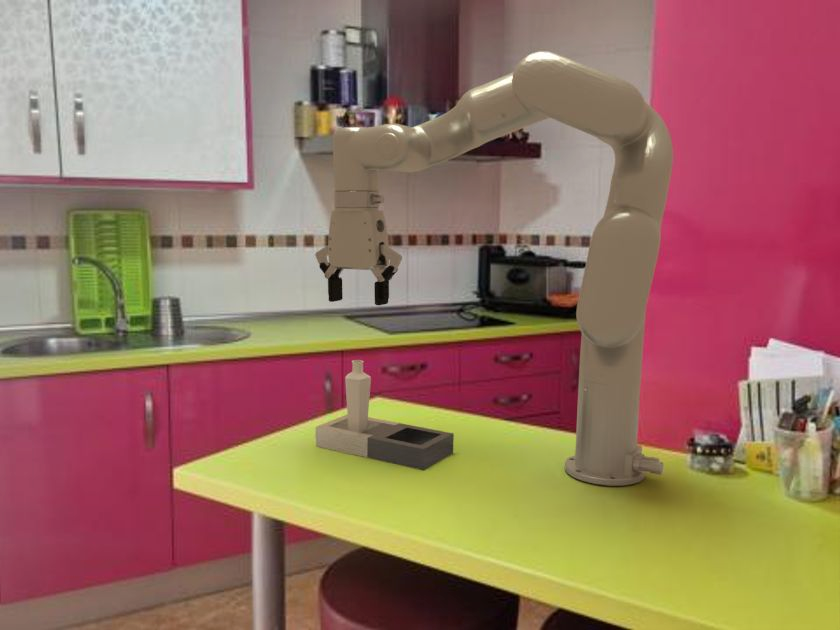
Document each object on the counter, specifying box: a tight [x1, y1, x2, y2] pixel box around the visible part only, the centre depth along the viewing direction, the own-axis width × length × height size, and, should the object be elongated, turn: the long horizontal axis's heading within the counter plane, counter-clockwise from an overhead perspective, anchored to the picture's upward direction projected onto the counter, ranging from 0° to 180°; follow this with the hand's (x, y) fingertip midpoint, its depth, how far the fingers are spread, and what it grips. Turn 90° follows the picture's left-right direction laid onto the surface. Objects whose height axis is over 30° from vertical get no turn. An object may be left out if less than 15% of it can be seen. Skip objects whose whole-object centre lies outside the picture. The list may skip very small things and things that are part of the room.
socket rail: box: [315, 414, 455, 471], centre depth 134 cm, size 22×10×4 cm, turn 59°
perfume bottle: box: [344, 359, 372, 433], centre depth 136 cm, size 5×4×15 cm
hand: (358, 302), depth 133 cm, fingers open, 9 cm apart
